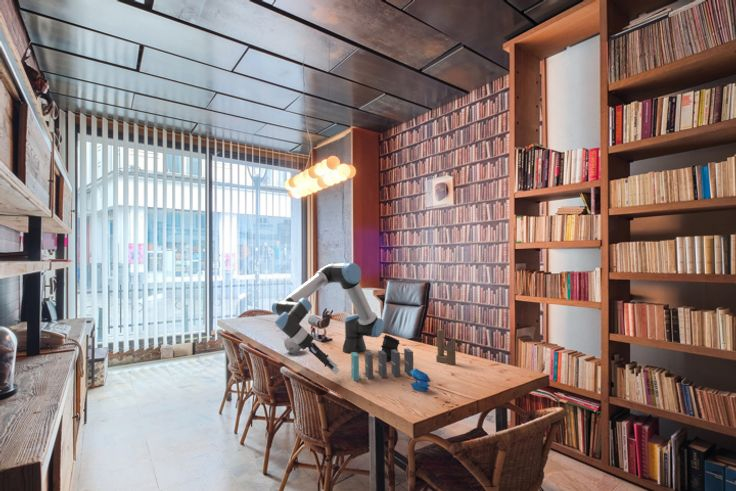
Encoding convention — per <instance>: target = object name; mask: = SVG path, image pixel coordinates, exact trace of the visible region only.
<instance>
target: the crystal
mask: <svg viewBox="0 0 736 491" xmlns="http://www.w3.org/2000/svg"><path fill="white" fill-rule="evenodd" d="M410 373H411V375H412V376H411V377H412V378H413V379H414V380H415V381H413V382H411V383H410V386H411V388H412V389H413V390H415V391H419V392H427V391H429V390H430V388H429V387H430V384H429V382H430V383H431V381H432V380H431V379H430V377H429V375H428V374H427V373H426V372H423V371H421V370H420V369H418V368H413V370H411V371H410Z"/></svg>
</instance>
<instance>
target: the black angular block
mask: <svg viewBox="0 0 736 491" xmlns="http://www.w3.org/2000/svg"><path fill="white" fill-rule="evenodd" d="M382 338H383V339H382V340H383V341H382V344H381V345H380V347H381V350H383V351H384V352H385V353H386V354H387V363H389V362H391V350H394V349H396V350H397V351H398V352H399V348H398V347H399V345H400V343H401V342H400V340H399V339H396V338H395V337H392V336H390V335H388V334H385V335H384V336H383V337H382Z"/></svg>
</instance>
